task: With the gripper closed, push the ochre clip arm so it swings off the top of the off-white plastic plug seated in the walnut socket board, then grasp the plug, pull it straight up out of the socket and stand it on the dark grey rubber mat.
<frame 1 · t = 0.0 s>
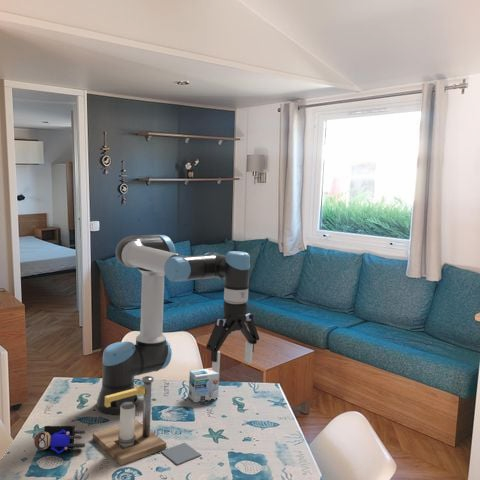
hand: (232, 366, 155), 28 cm above the table, fingers open, 13 cm apart
plug: (126, 448, 156), resting in socket board
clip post: (145, 441, 160), resting on socket board
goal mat: (181, 454, 154), on the table
character figurine: (60, 451, 153), on the table
socket board: (129, 443, 159), on the table
light bulb box: (203, 398, 196), on the table
clip arm: (125, 396, 153), point 18 cm above the table, hinge at 0.0°
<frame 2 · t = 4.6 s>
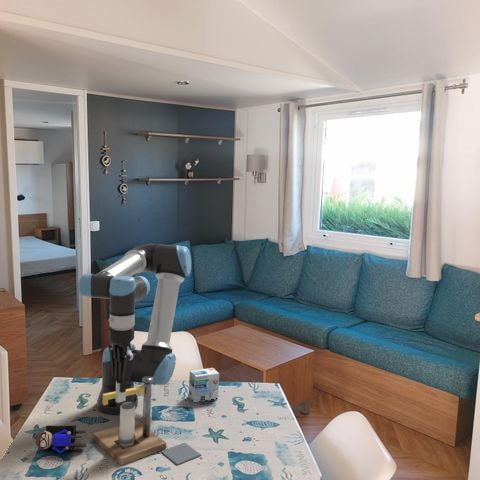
hand: (120, 400, 152), 17 cm above the table, fingers closed
clip arm: (123, 395, 154), point 18 cm above the table, hinge at 7.4°, touching gripper
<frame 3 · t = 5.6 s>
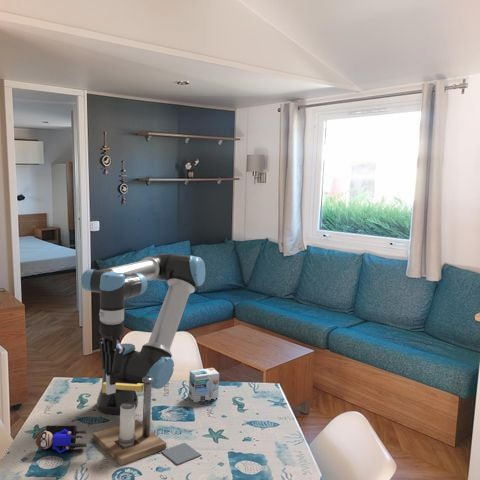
hand: (110, 392, 157), 17 cm above the table, fingers closed
clip arm: (122, 388, 159), point 18 cm above the table, hinge at 44.5°
everything else where it was.
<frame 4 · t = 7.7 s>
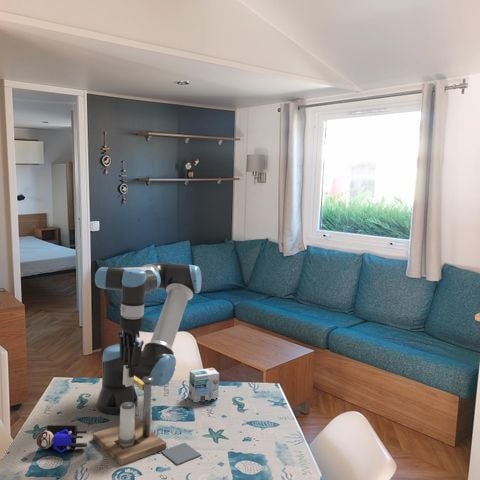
hand: (128, 384, 163), 17 cm above the table, fingers closed, pressing on clip arm
clip arm: (135, 381, 165), point 18 cm above the table, hinge at 90.4°, touching gripper
everything else where it was.
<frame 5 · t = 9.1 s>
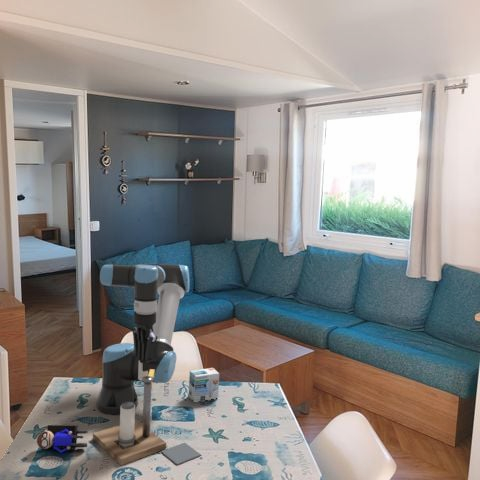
hand: (142, 379, 167), 18 cm above the table, fingers closed
clip arm: (150, 380, 167), point 18 cm above the table, hinge at 127.3°
everything else where it was.
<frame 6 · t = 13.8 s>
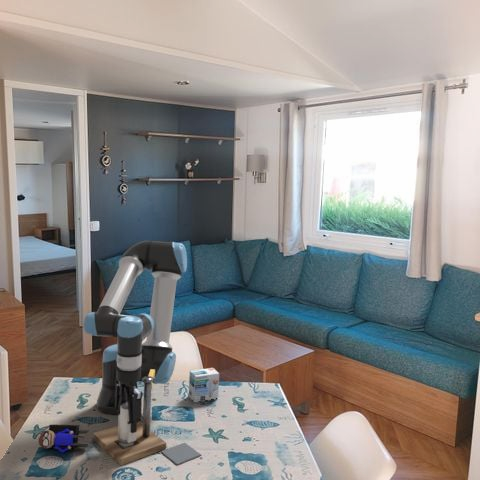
hand: (126, 436, 155), 4 cm above the table, fingers closed on plug, 5 cm apart
plug: (126, 448, 156), resting in socket board, touching gripper
clip arm: (150, 380, 167), point 18 cm above the table, hinge at 128.0°
when the fingers open (6 cm above the table, at t = 22.5 s): plug drops 1 cm, resting on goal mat.
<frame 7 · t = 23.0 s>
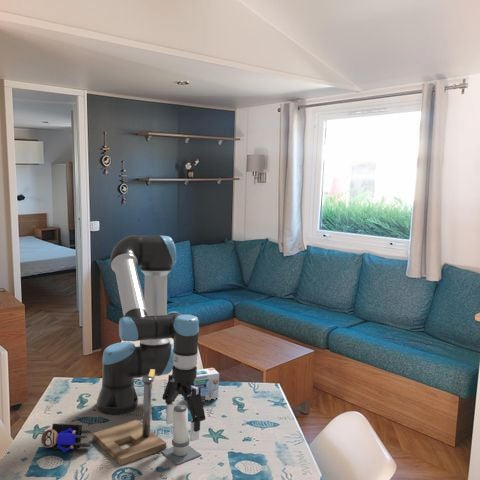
hand: (182, 431, 153), 8 cm above the table, fingers open, 12 cm apart
plug: (180, 452, 154), point 1 cm above the table, touching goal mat
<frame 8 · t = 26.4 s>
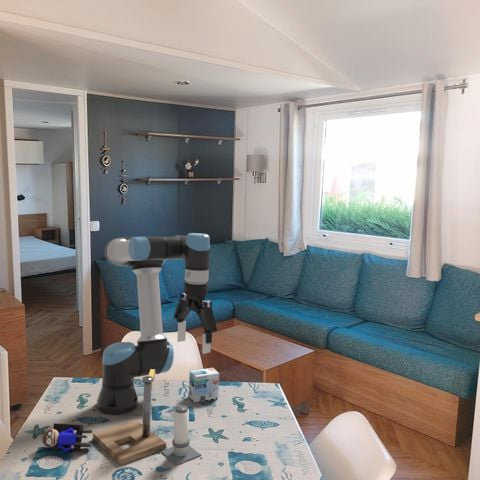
hand: (193, 346, 158), 33 cm above the table, fingers open, 13 cm apart
at the end: clip arm at +128° (first picture: +0°); plug 0.1 cm from the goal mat (horizontally); plug tilted 1° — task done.
